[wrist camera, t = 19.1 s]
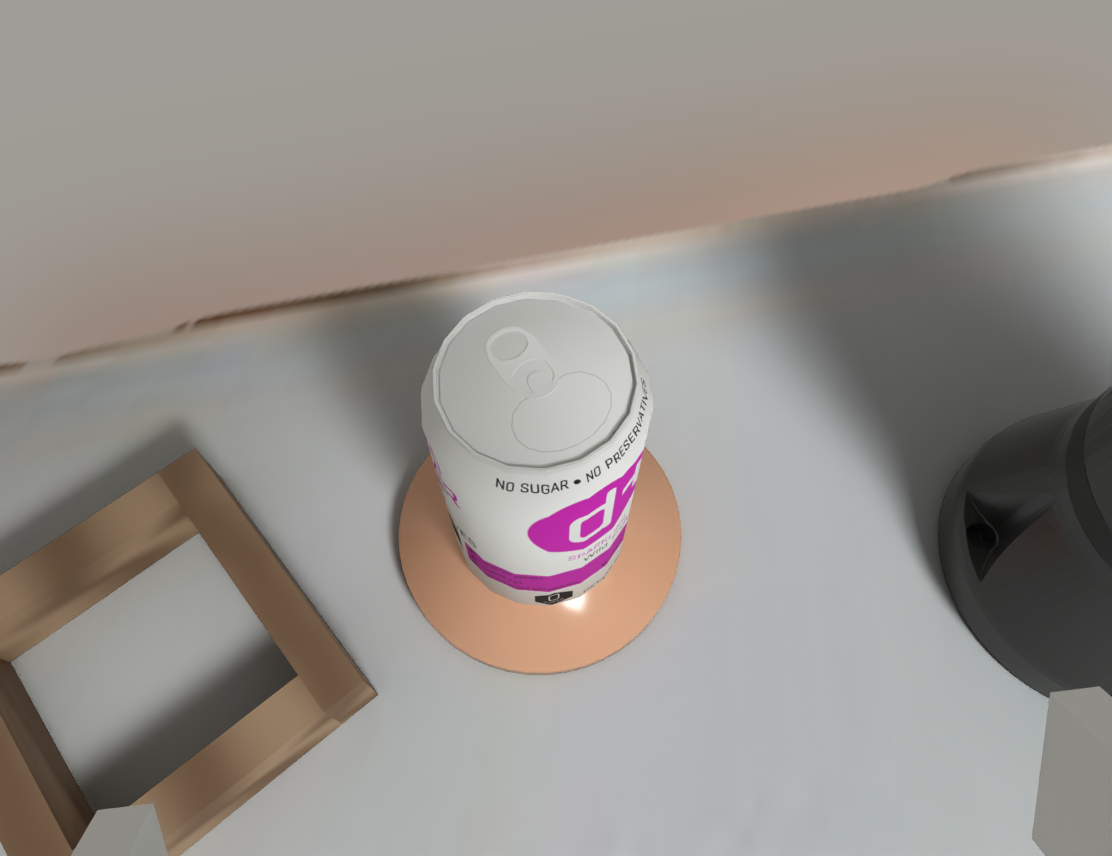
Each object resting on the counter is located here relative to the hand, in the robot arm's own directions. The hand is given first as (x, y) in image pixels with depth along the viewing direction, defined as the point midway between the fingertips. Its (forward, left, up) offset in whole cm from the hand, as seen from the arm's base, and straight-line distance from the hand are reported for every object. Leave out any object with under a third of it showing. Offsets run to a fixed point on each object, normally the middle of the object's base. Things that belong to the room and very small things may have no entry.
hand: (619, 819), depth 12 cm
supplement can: (-8, -12, -26) cm, 30 cm away
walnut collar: (+10, -18, -27) cm, 34 cm away
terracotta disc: (-8, -12, -27) cm, 30 cm away
